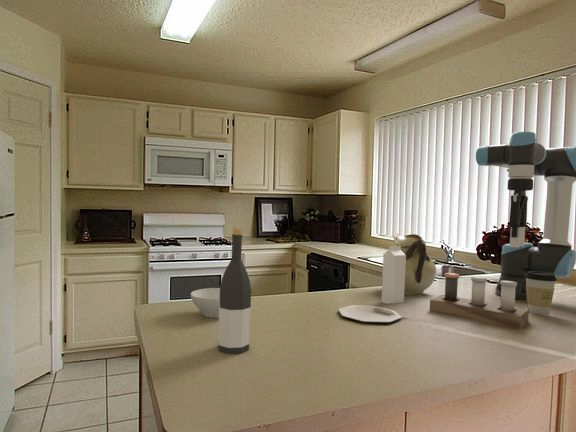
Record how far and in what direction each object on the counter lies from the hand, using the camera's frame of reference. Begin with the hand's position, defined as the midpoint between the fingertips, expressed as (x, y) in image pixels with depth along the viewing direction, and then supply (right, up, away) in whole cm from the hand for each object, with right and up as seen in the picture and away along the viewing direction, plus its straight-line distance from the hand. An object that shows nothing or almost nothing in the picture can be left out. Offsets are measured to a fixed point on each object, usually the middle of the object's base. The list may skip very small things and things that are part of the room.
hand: (516, 246), depth 137 cm
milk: (-38, -23, +18) cm, 48 cm away
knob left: (-7, -20, -6) cm, 22 cm away
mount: (-14, -25, 0) cm, 28 cm away
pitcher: (-25, -23, +39) cm, 52 cm away
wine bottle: (-91, -23, -36) cm, 101 cm away
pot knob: (-20, -19, +6) cm, 28 cm away
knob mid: (-13, -20, 0) cm, 24 cm away
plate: (-50, -24, -1) cm, 56 cm away
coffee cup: (+13, -25, +9) cm, 30 cm away
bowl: (-101, -22, -6) cm, 104 cm away
